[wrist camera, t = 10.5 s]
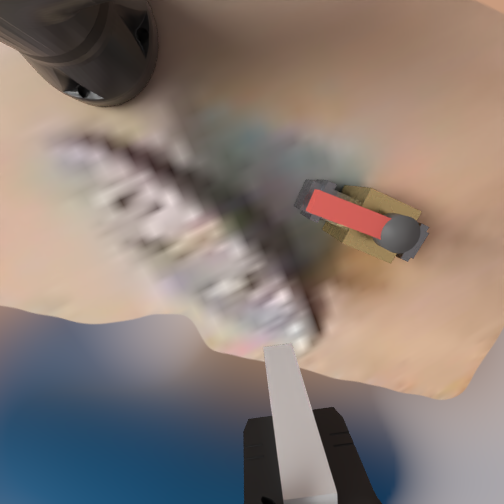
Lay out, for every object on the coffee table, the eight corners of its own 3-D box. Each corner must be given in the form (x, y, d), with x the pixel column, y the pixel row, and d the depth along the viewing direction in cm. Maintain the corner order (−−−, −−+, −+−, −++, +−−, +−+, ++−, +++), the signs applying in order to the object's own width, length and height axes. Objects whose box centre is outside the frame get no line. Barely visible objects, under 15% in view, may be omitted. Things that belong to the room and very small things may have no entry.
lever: (412, 219, 29) (427, 223, 27) (395, 251, 30) (408, 258, 28) (316, 181, 27) (323, 182, 25) (301, 216, 28) (307, 220, 26)
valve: (289, 215, 38) (304, 228, 29) (310, 169, 36) (334, 167, 27) (391, 259, 41) (435, 283, 32) (416, 218, 39) (469, 231, 30)
